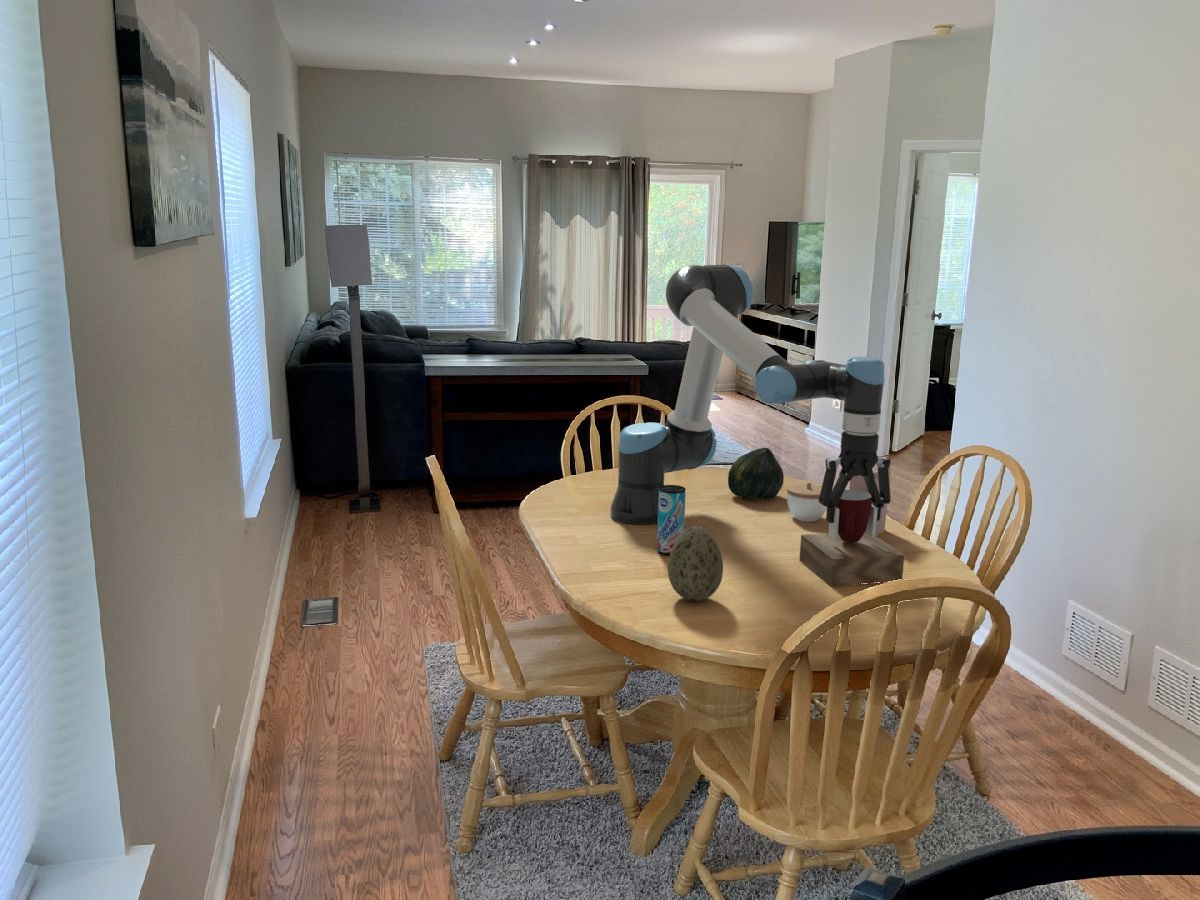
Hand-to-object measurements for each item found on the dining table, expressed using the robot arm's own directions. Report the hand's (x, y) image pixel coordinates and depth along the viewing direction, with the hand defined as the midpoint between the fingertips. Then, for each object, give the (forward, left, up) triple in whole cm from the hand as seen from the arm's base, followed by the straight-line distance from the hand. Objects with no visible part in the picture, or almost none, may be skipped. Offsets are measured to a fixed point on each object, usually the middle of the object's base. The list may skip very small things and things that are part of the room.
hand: (851, 535), depth 199 cm
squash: (+1, +59, -8) cm, 59 cm away
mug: (0, 0, -1) cm, 1 cm away
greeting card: (+17, +22, -8) cm, 29 cm away
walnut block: (0, 0, -8) cm, 8 cm away
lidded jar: (+7, +38, -8) cm, 39 cm away
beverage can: (-35, +18, -8) cm, 40 cm away
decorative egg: (-38, -10, -8) cm, 40 cm away
